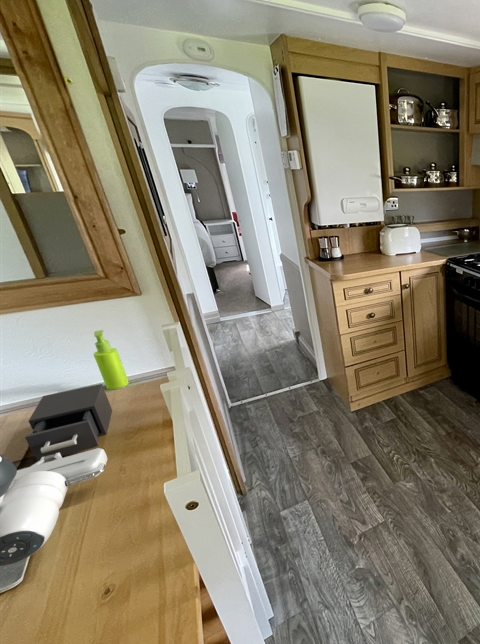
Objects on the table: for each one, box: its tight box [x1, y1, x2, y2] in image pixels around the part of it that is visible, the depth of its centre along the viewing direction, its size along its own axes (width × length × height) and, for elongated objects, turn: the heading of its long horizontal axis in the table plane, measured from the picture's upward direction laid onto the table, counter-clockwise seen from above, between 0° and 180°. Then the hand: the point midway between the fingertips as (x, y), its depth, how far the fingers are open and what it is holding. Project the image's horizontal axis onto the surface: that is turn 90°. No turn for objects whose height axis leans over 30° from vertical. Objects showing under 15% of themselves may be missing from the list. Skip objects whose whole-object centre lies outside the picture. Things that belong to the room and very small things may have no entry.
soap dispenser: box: [93, 329, 130, 391], centre depth 129 cm, size 6×7×20 cm
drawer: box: [24, 409, 100, 463], centre depth 100 cm, size 18×11×8 cm, turn 36°
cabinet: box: [28, 383, 113, 438], centre depth 107 cm, size 15×13×10 cm
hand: (52, 456), depth 89 cm, fingers closed
